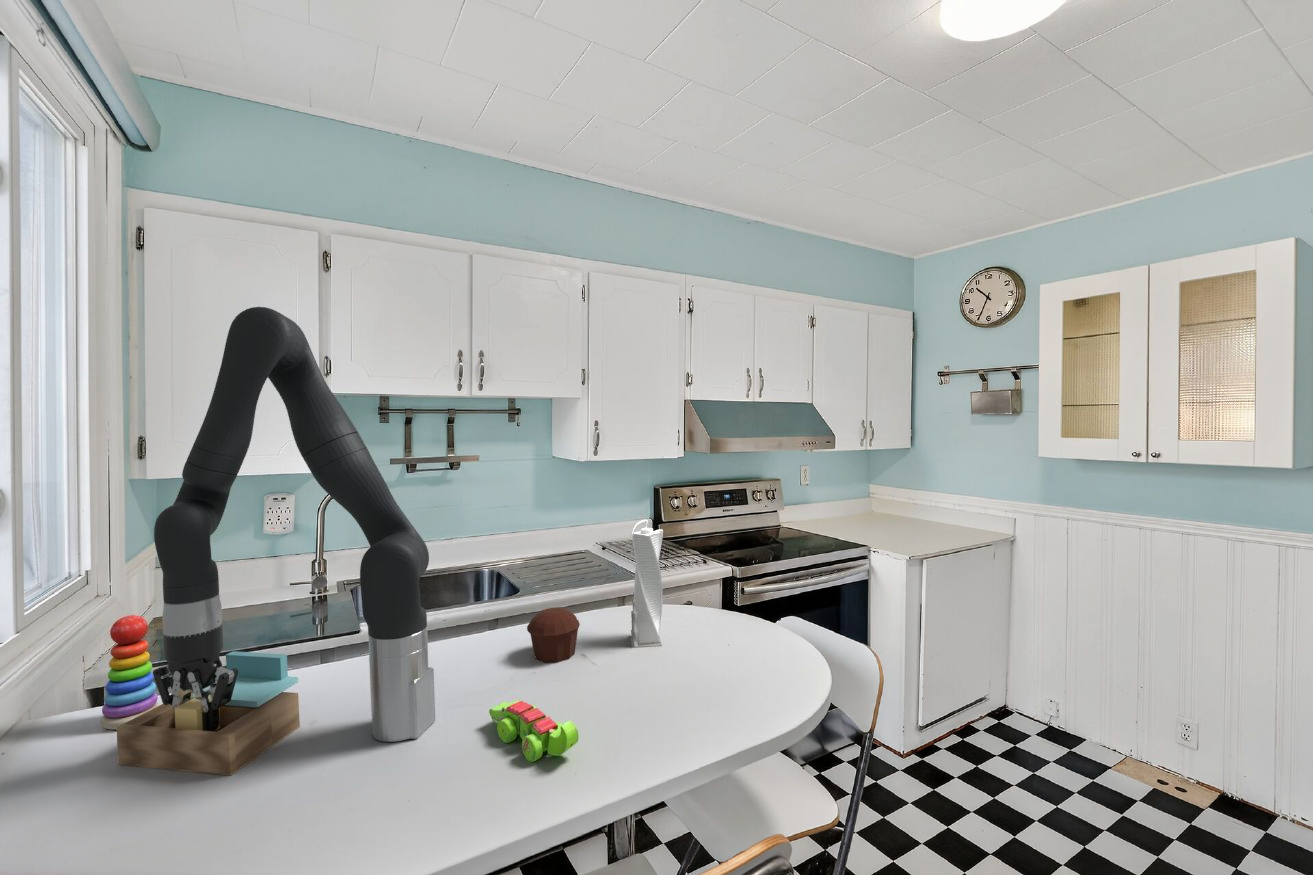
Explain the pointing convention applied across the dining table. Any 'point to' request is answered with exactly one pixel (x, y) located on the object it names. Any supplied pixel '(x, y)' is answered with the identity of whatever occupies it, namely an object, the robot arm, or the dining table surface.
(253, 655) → the sliding lid
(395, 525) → the robot arm
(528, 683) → the dining table surface
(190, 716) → the ochre block
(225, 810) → the dining table surface
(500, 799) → the dining table surface
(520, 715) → the toy crocodile
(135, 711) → the stacking toy
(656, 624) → the skyscraper
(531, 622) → the muffin
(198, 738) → the wooden box
